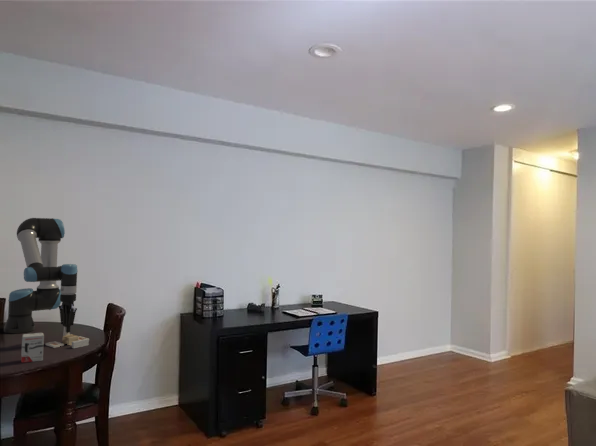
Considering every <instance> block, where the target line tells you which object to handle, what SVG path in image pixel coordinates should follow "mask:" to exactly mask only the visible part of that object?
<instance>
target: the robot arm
mask: <svg viewBox="0 0 596 446" xmlns="http://www.w3.org/2000/svg"><path fill="white" fill-rule="evenodd" d="M65 234H66V230H65V225H64V222H63V221H62V219H59V218H54V217H53V218H50V217H49V218H48V217H47V218H46V217H43V218H42V217H29V218H26V219H25V220H23V221H22V222H21V223H20V224H19V226H18V227H17V230H16V237H17V241H19V242H20V245H21V249H22V253H23V257H24V261H25V264H26V267H24V270H23V279H24V282H27V283H35V282H36V283H37V282H39V285H37V286H36V290H33V288H29V287H28V288H20V289H15V290H12V291H11V292H10V293H9V295H8V310H7V312H8V313H7V315H8V316H7V319H6V322H5V324H4V327H3V333H7V334H26V333H30V332H33V331H35V330H36V325H35V321H34V319H33V312H34V311H35V312H37V311H38V312H39V311H51V310H57V309H59V317H60V324H61V325H62V326H63V327H62V328H63V329H62V330H63V335H62V337H63V336H66V335H71V327H72V326H74V322H75V317H76V312H77V311H78V308H77V307H75V303H74V302H75V301H76V300H77V294H76V293H77V288H78V287H77V286H78V285H77V283H78V265H77V264H74V263H64V264H62V265H59V266H58V248H59V247H58V245H59V243H60V242H61V239H63V238H64V237H65ZM37 239H38V241H37ZM38 242H39V243H40V244H41V245H40V248H39V245H38ZM57 281H58V282H59V281H60V286H59V285H58V284H57Z"/></svg>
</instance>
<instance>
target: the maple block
mask: <svg viewBox="0 0 596 446" xmlns="http://www.w3.org/2000/svg"><path fill="white" fill-rule="evenodd" d="M78 337H79V335H76V334H72V333H70V335H66V336H63V335H62V338H61V339H62V342H61V343H63V344H64V345H65V344H67V345H66V346H68V345H70V346H72V342H73V341H78Z"/></svg>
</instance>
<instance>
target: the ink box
mask: <svg viewBox="0 0 596 446" xmlns="http://www.w3.org/2000/svg"><path fill="white" fill-rule="evenodd" d="M44 341H45V334H44V333H43V332H35V333H22V336H21V352H20V353H21V354H20V361H21V362H20V363H33V362H40V361H41V362H42V361H44V344H45V343H44Z"/></svg>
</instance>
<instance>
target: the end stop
mask: <svg viewBox="0 0 596 446" xmlns="http://www.w3.org/2000/svg"><path fill="white" fill-rule="evenodd" d="M89 345H90V338H88V339H83V340H78V341H73V342H72V345H71V348H72V349H76V348H82V347H87V346H89Z"/></svg>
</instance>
